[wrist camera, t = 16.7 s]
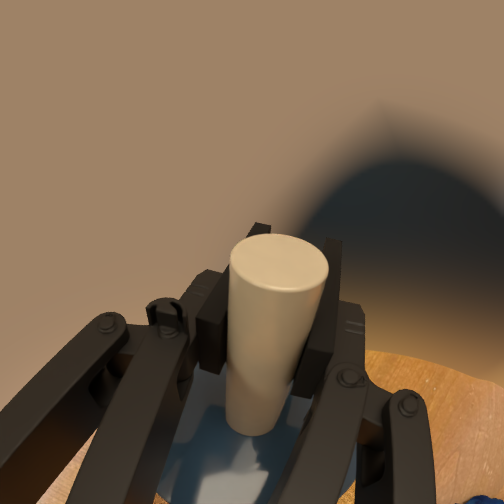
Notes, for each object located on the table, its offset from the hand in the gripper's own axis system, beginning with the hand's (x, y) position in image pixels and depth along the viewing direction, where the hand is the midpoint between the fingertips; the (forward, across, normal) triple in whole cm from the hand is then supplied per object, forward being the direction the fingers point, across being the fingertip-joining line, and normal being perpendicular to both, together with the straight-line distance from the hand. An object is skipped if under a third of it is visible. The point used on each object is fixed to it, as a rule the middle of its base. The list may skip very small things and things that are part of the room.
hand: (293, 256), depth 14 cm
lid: (-5, 0, -6) cm, 8 cm away
